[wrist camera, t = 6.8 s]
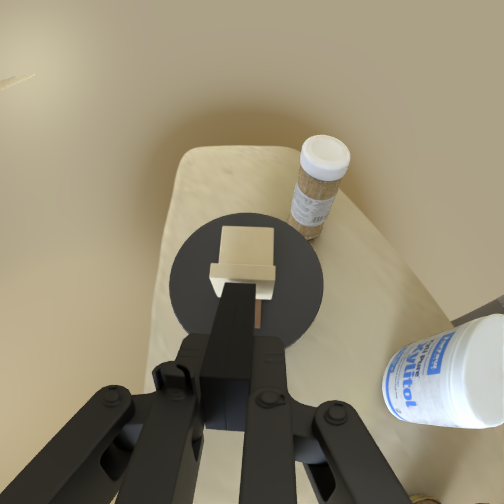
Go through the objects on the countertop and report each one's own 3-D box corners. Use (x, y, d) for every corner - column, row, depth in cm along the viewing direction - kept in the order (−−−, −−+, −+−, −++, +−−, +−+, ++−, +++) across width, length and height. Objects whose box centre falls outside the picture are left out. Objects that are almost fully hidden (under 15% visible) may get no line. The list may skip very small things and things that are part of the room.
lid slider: (271, 299, 17) (275, 280, 14) (217, 297, 17) (209, 277, 14) (273, 233, 19) (276, 204, 16) (223, 231, 19) (218, 202, 16)
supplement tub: (377, 347, 30) (454, 314, 17) (441, 339, 31) (523, 303, 17) (379, 430, 26) (461, 444, 13) (445, 413, 26) (533, 408, 13)
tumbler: (292, 371, 30) (325, 359, 16) (202, 367, 30) (159, 350, 16) (294, 287, 34) (320, 214, 20) (210, 283, 34) (180, 209, 20)
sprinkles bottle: (316, 208, 38) (341, 131, 26) (326, 238, 37) (359, 166, 24) (282, 212, 38) (296, 134, 26) (291, 244, 36) (311, 170, 24)
